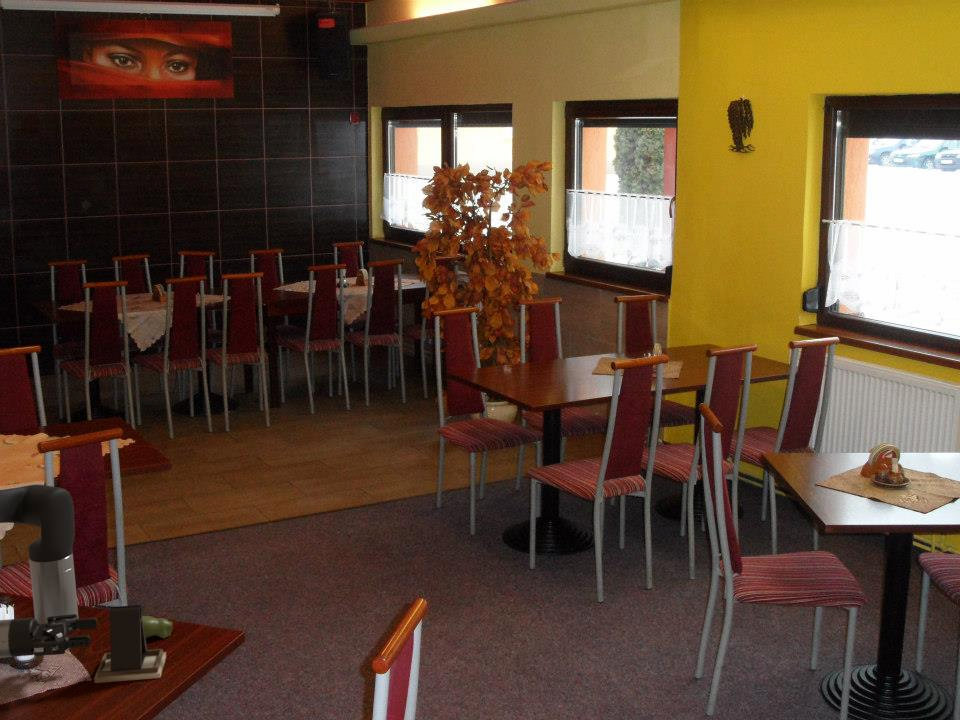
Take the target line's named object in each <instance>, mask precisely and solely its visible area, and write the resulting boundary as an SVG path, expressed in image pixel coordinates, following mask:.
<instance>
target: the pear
mask: <svg viewBox="0 0 960 720" xmlns="http://www.w3.org/2000/svg"><path fill="white" fill-rule="evenodd" d="M142 620H143V626H144V632H145V639H146V640H147V638H150V637H154V636H157V637H159V638H161V639H167V638H166V637H168V636H169V637H170V636H171V634H172V632H173V628H174V627H173V625H174V622H173V621H171V620H170V621H169V619H167V618H162V617H161V618H160V617H159V618H156V617H154V616H151V615H149V616H148V615H142ZM169 637H168V638H169Z"/></svg>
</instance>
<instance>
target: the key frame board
mask: <svg viewBox="0 0 960 720" xmlns="http://www.w3.org/2000/svg"><path fill="white" fill-rule="evenodd" d="M166 659H167V651H164V649H163V648H155V649H147V653H146V656H145V659H144V662H143V665H142V668H141V669H134V670H121V671H111V652H106V653H104V654H103V657H102V658H101V661H100V663H99V665H98V669H97V671H96V673H95V675H94V678H93V681H94V683H95V684H101V683H112V682H124V681H137V680H151V679H160V678H161V677H162V673H163V670H164V666H165V663H166Z"/></svg>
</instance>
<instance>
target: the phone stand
mask: <svg viewBox="0 0 960 720" xmlns="http://www.w3.org/2000/svg"><path fill="white" fill-rule="evenodd" d="M142 616H143V612H142V605H141V604H137V605H135V604H132V605H124V606H123V605H122V606H111V607H110V608H109V617H108V618H109V625H110V626H109V629H110V633H109V635H110V637H109V638H110V653H111V671H121V670H134V669H141V668H142V665H143V662H144V659H145V656H146V653H147V650H148V645H147V638H146V639H145V632H144V626H143V620H142Z"/></svg>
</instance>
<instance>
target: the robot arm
mask: <svg viewBox="0 0 960 720" xmlns="http://www.w3.org/2000/svg"><path fill="white" fill-rule="evenodd" d="M6 523H7V524H13V523H15V524H21V525H22V524H24V525H27V526H28V525H29V526H34V527H39V528H40V539H37V540H35V541H32V543H30V544H29V546H28V549H27V550H28V562H29V572H30V582H31V590H32V601H33V602H32V604H33V613H34V617H25V618H13V619H11V618H10V619H1V620H0V659H3V658H13V657H14V658H15V657H28V656H29V657H30V656H36V657H38V656H39V657H41V656H53V655H54V656H56V655H64V654H66V651H69V650H70V649H74V648H88V647H90V645H91V638H90V635H89V634H86V635H71V636H69V635H70V634H71V633H73V632H76V631H88V630H96V629H97V628H98V626H99V625H98V618H96V617H90V618H89V617H88V618H79V610H78V599H77V587H76V585H77V584H76V575H75V564H74V553H73V545H74V541H75V539H76V538H75V537H76V534H75V533H76V530H75V505H74V500H73V498H72V495H71V493H70V491H68V490H67V489H65V488H63V487H57V486H52V485H48V484H47V485H45V484H39V483H37V484H30V485H23V486H18V487H12V488H6V489H5V488H3V489H0V524H6Z"/></svg>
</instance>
